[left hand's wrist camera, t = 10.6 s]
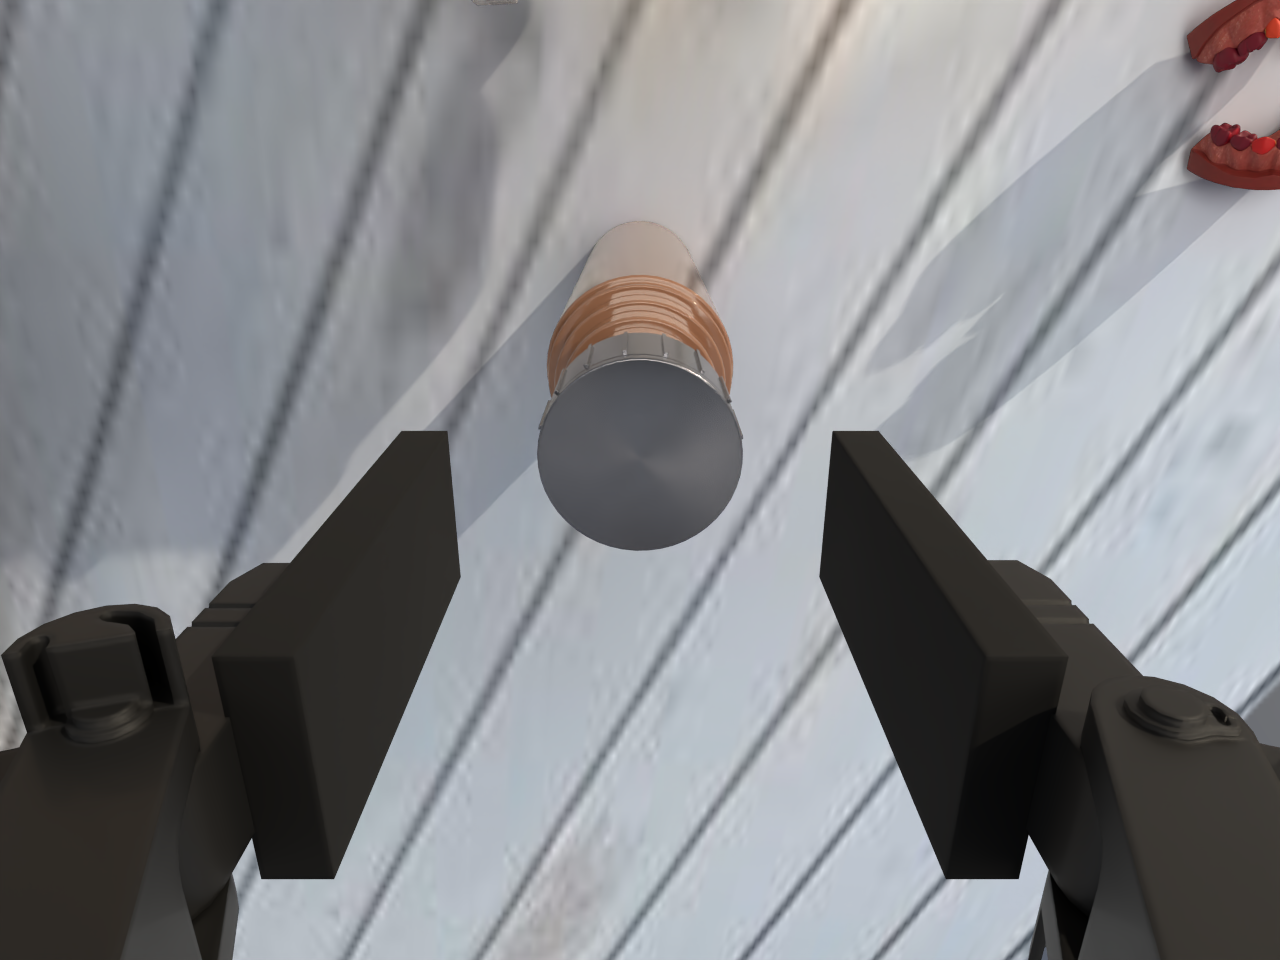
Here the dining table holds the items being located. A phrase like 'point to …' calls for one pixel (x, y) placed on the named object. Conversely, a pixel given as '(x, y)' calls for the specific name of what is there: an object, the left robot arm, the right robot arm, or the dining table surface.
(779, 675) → the dining table surface
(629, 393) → the cap
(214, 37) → the dining table surface
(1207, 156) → the dental model
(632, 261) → the bottle
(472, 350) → the dining table surface
